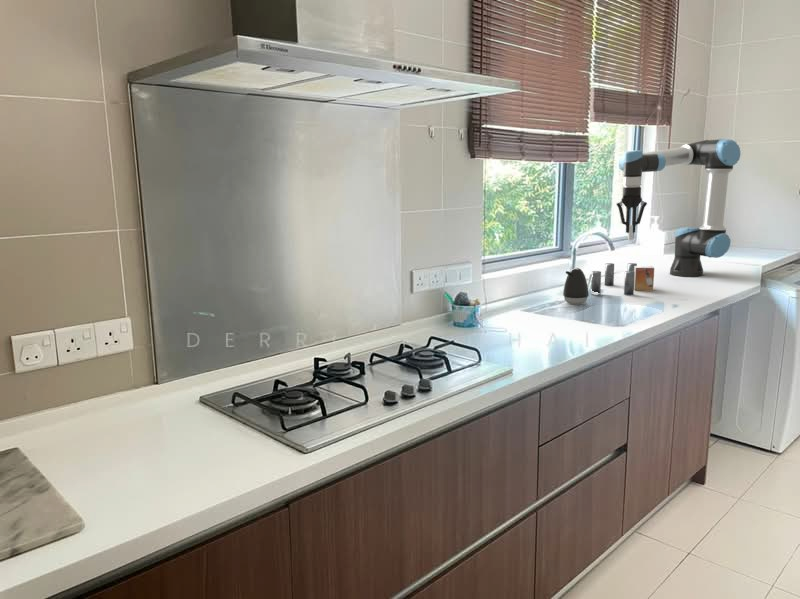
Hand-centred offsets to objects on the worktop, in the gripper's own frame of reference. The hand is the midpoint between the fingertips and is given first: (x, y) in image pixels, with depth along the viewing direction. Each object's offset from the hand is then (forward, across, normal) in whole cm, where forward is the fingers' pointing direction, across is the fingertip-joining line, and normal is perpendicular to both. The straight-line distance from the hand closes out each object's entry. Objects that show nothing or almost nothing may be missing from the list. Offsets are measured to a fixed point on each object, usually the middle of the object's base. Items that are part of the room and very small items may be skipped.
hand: (630, 239), depth 285 cm
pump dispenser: (+22, +26, +30) cm, 45 cm away
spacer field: (+22, +6, +1) cm, 23 cm away
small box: (+23, -6, +1) cm, 24 cm away
